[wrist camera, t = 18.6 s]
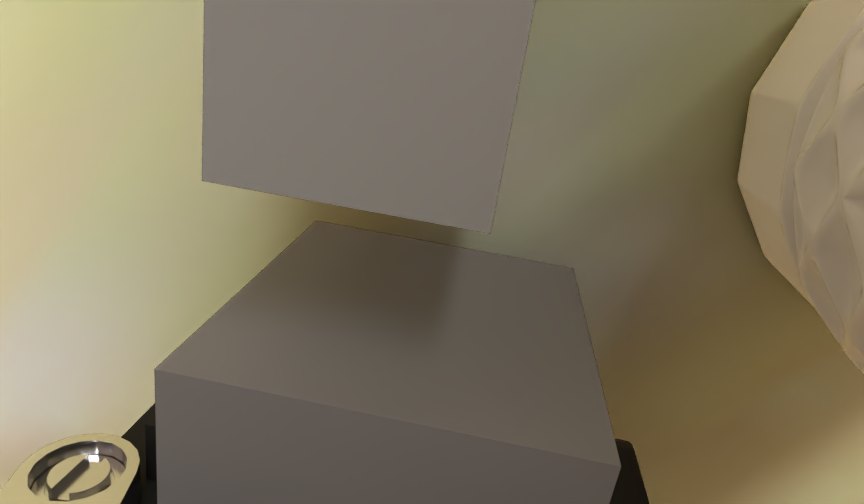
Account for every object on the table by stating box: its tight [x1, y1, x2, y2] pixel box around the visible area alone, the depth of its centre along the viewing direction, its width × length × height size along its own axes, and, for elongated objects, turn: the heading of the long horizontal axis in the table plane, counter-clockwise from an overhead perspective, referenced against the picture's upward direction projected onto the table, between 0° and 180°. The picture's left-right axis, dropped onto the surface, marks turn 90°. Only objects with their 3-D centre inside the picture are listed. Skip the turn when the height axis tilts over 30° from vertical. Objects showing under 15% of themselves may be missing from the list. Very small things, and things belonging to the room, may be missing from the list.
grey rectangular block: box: [155, 221, 621, 504], centre depth 9 cm, size 4×6×5 cm
